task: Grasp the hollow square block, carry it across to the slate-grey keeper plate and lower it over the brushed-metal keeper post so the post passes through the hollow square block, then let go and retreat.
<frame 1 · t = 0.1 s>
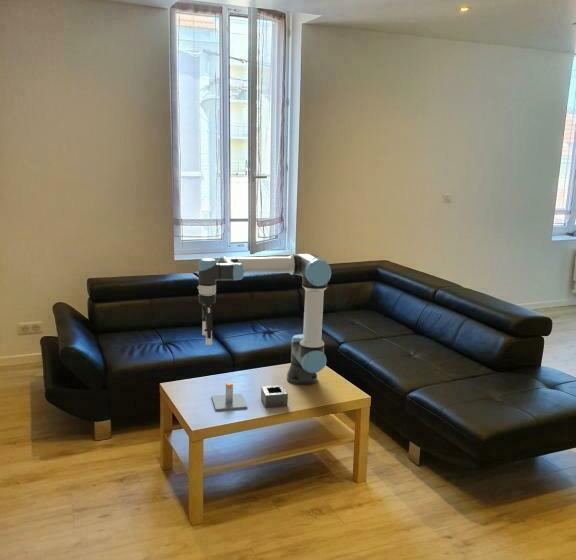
hand: (207, 339, 258), 28 cm above the table, fingers open, 13 cm apart
hollow square block: (274, 402, 262), on the table
keeper: (229, 403, 260), on the table
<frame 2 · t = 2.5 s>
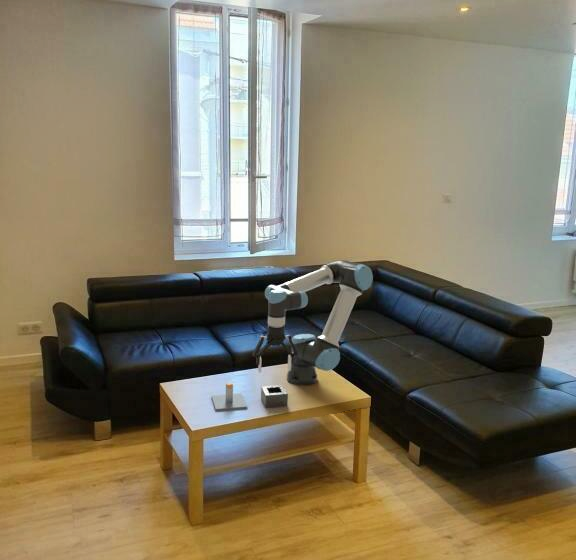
hand: (274, 370, 258), 15 cm above the table, fingers open, 13 cm apart
nothing on the table moved.
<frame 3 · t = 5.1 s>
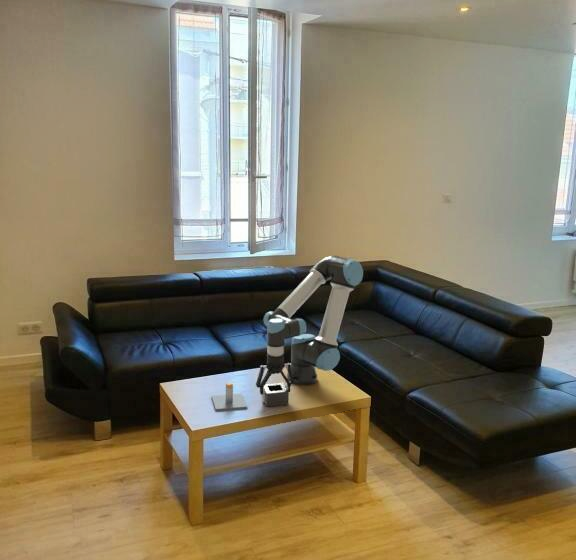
hand: (275, 399, 262), 1 cm above the table, fingers closed on hollow square block, 10 cm apart
hollow square block: (274, 400, 262), point 1 cm above the table, touching gripper
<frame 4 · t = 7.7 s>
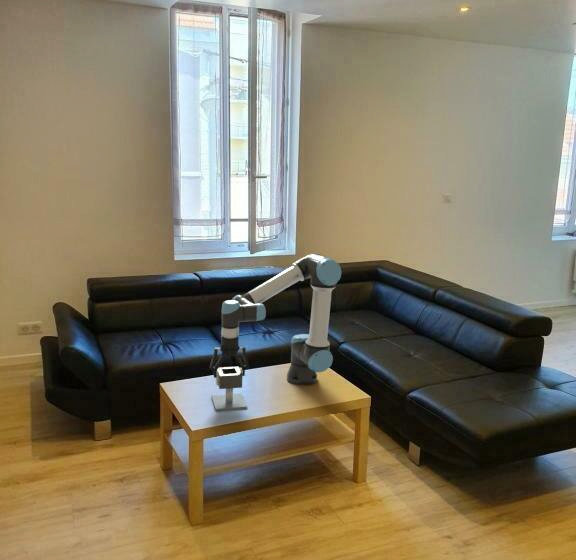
hand: (229, 383, 257), 9 cm above the table, fingers closed on hollow square block, 10 cm apart
hollow square block: (229, 383, 257), point 9 cm above the table, touching gripper
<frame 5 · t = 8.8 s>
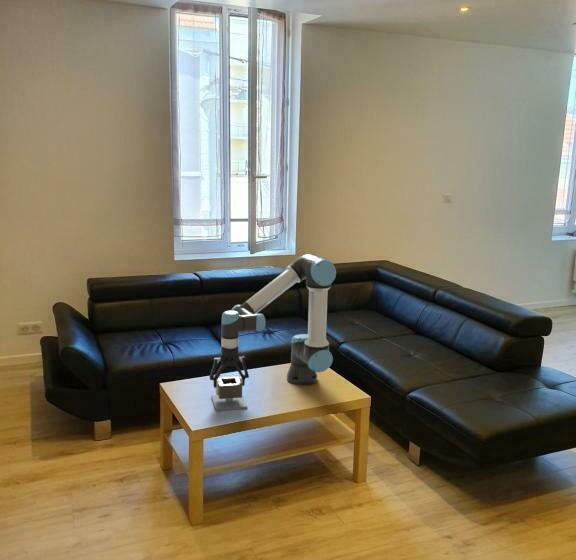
hand: (228, 393, 258), 5 cm above the table, fingers closed on hollow square block, 10 cm apart
hollow square block: (228, 393, 258), point 5 cm above the table, touching gripper
when the fingers open (2 cm above the table, at t = 9.9 s): hollow square block stays where it is, resting on keeper.
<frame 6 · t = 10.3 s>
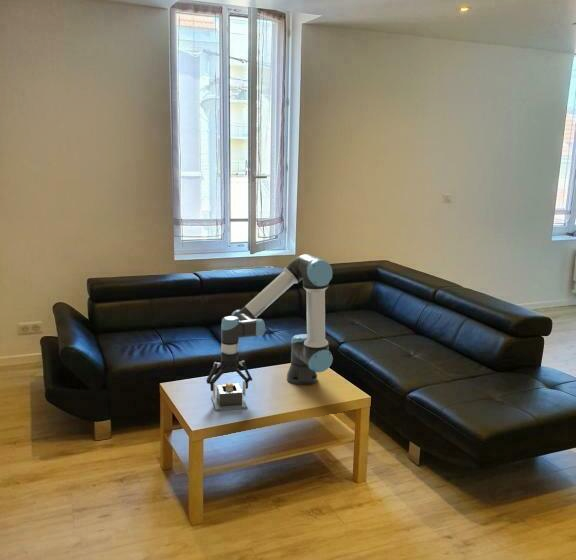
hand: (229, 396, 259), 3 cm above the table, fingers open, 13 cm apart
hollow square block: (229, 401, 259), point 1 cm above the table, touching keeper
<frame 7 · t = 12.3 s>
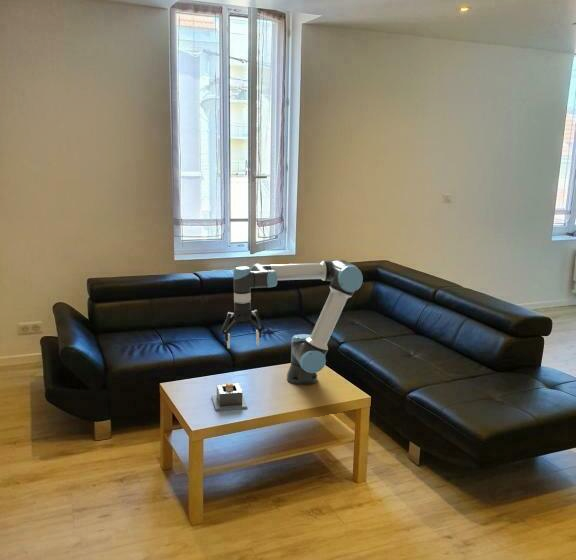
hand: (243, 346, 264), 24 cm above the table, fingers open, 13 cm apart
nothing on the table moved.
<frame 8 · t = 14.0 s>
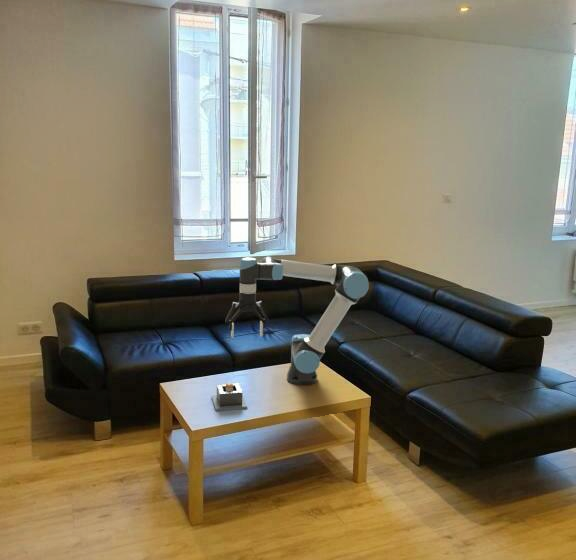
hand: (246, 336, 268), 27 cm above the table, fingers open, 13 cm apart
nothing on the table moved.
at the end: hollow square block 0.1 cm from the keeper (horizontally); hollow square block point 1.0 cm above the table; the gripper is holding nothing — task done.
